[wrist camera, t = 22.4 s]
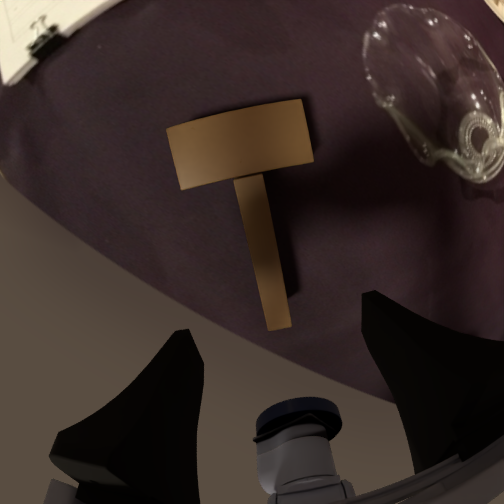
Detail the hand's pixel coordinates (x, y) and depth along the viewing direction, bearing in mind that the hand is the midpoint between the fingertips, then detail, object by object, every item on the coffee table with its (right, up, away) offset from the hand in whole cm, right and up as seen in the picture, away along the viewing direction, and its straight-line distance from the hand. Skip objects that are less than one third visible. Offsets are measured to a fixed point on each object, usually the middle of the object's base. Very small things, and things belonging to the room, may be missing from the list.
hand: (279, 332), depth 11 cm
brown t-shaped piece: (-1, +6, +8) cm, 10 cm away
